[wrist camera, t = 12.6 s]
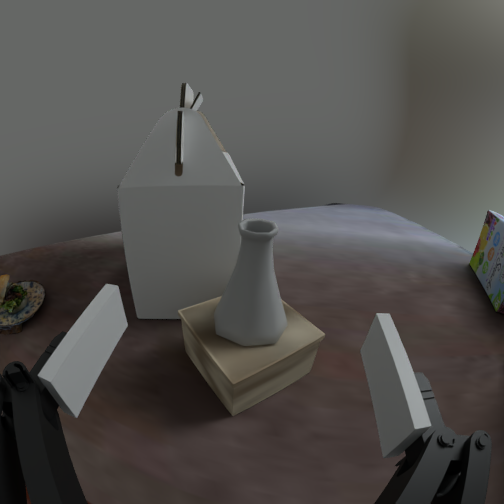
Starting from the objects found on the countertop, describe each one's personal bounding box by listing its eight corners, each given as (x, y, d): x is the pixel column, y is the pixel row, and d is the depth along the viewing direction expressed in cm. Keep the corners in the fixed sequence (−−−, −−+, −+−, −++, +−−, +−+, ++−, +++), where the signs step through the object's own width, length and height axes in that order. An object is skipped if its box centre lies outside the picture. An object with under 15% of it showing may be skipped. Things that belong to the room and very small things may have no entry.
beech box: (312, 372, 29) (325, 334, 26) (232, 418, 23) (233, 384, 20) (256, 320, 36) (260, 282, 33) (182, 350, 30) (177, 310, 27)
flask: (203, 341, 24) (199, 239, 19) (222, 294, 30) (224, 206, 26) (285, 354, 23) (305, 252, 19) (288, 304, 30) (303, 215, 25)
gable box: (237, 320, 36) (252, 80, 23) (137, 321, 34) (114, 84, 21) (225, 243, 55) (232, 94, 42) (158, 243, 53) (154, 95, 40)
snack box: (512, 317, 36) (543, 250, 29) (495, 313, 37) (526, 242, 30) (483, 268, 53) (502, 213, 46) (467, 263, 55) (486, 207, 48)
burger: (28, 341, 27) (6, 296, 23) (-21, 329, 25) (-40, 288, 22) (60, 290, 37) (48, 249, 34) (12, 286, 36) (0, 248, 32)
